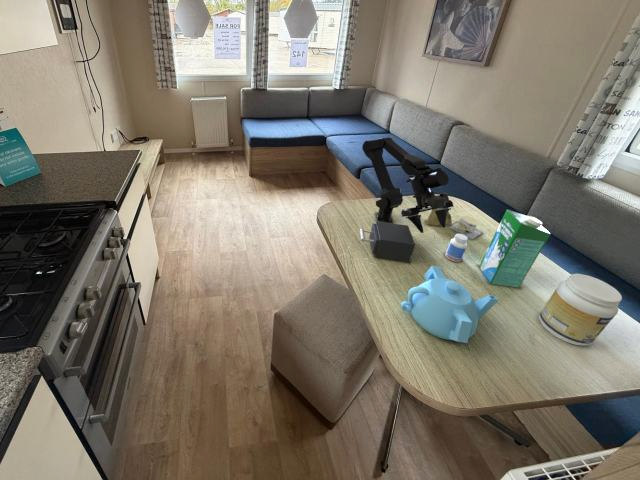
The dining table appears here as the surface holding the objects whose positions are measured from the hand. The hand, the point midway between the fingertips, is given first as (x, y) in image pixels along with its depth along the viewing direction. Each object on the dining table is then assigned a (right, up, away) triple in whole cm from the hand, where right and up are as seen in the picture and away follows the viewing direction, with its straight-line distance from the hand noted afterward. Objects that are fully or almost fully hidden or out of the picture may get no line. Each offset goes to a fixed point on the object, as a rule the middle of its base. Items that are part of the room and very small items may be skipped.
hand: (433, 230), depth 118 cm
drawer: (-19, -7, +4) cm, 21 cm away
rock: (+15, 0, +21) cm, 26 cm away
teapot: (-12, -24, -25) cm, 37 cm away
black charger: (-15, -8, +3) cm, 18 cm away
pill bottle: (+8, -11, +1) cm, 13 cm away
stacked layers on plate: (+24, -2, +17) cm, 30 cm away
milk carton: (+18, -16, -8) cm, 26 cm away
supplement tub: (+23, -26, -27) cm, 44 cm away
